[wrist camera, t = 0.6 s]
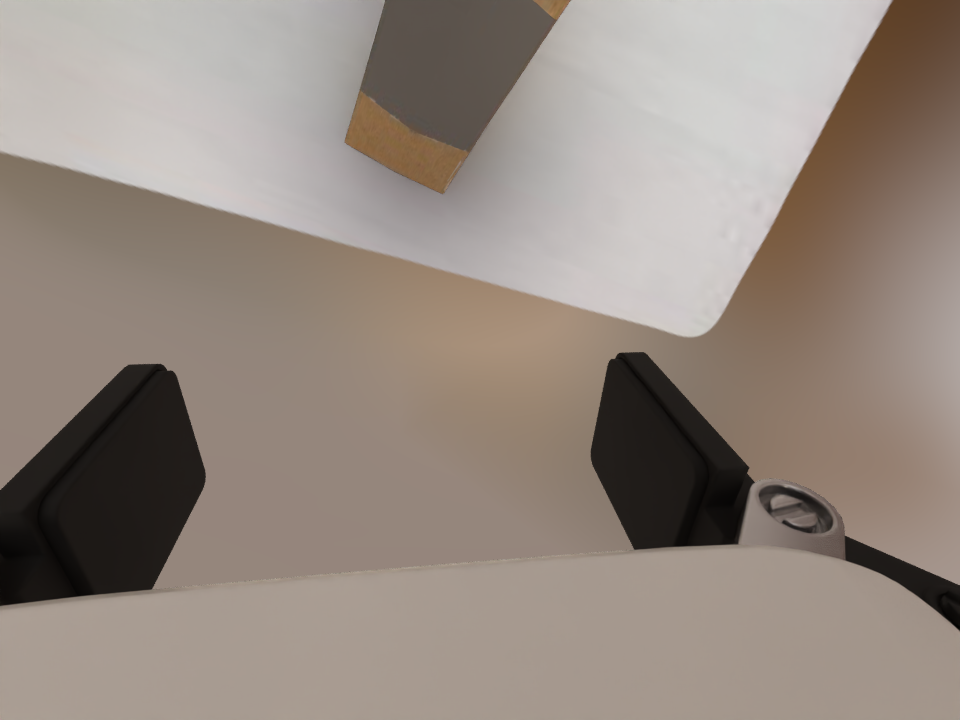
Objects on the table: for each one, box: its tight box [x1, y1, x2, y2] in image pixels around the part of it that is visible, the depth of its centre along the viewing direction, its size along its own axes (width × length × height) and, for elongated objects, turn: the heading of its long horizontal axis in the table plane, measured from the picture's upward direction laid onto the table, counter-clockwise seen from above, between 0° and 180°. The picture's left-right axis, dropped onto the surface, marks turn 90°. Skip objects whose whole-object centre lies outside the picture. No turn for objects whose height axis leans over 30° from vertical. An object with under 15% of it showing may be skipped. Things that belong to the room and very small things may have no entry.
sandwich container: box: [345, 0, 571, 194], centre depth 28 cm, size 9×15×15 cm, turn 152°
